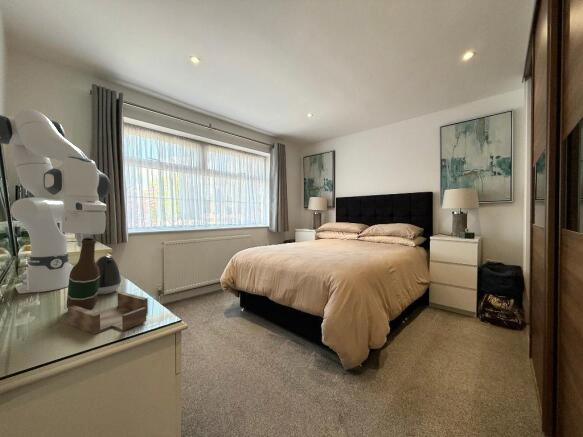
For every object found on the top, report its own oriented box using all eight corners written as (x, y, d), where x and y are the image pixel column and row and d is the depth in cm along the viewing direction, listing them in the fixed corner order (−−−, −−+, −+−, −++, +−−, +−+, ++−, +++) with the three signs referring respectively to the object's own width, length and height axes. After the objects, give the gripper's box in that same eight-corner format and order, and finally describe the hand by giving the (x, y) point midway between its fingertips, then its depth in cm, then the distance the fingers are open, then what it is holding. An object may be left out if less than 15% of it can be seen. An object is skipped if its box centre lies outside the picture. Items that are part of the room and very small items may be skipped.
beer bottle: (102, 304, 85) (110, 239, 82) (80, 315, 77) (88, 244, 74) (82, 298, 86) (89, 234, 83) (59, 308, 78) (66, 238, 75)
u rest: (68, 323, 71) (67, 306, 70) (122, 306, 84) (122, 291, 84) (106, 340, 62) (106, 320, 62) (160, 317, 75) (160, 301, 75)
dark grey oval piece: (96, 298, 91) (95, 259, 91) (85, 293, 97) (85, 256, 96) (126, 291, 100) (125, 255, 99) (114, 287, 105) (114, 252, 105)
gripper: (54, 205, 81) (56, 246, 82) (86, 205, 73) (87, 250, 73) (77, 206, 87) (78, 243, 87) (109, 205, 78) (110, 247, 79)
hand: (83, 246), depth 80 cm, fingers closed
